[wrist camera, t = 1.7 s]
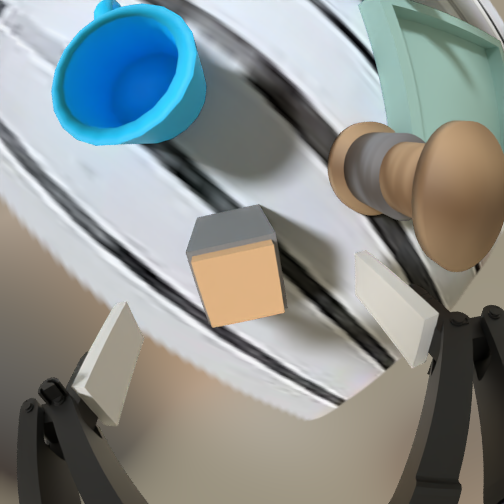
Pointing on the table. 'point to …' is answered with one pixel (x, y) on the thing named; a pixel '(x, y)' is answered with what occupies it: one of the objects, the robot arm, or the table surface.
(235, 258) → the gray and orange block
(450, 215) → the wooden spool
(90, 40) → the mug
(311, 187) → the table surface
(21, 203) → the table surface
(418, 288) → the robot arm
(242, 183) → the table surface
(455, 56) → the pale green tray
